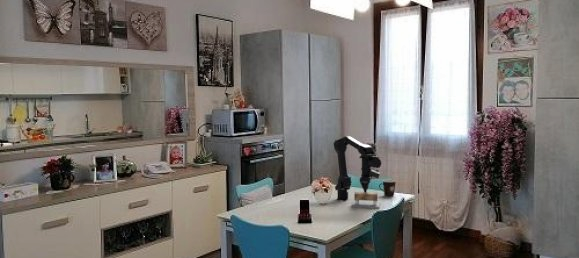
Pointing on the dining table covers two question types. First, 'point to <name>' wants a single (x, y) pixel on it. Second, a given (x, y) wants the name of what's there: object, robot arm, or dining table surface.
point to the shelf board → (365, 196)
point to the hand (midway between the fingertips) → (366, 190)
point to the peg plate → (365, 204)
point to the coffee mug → (388, 187)
